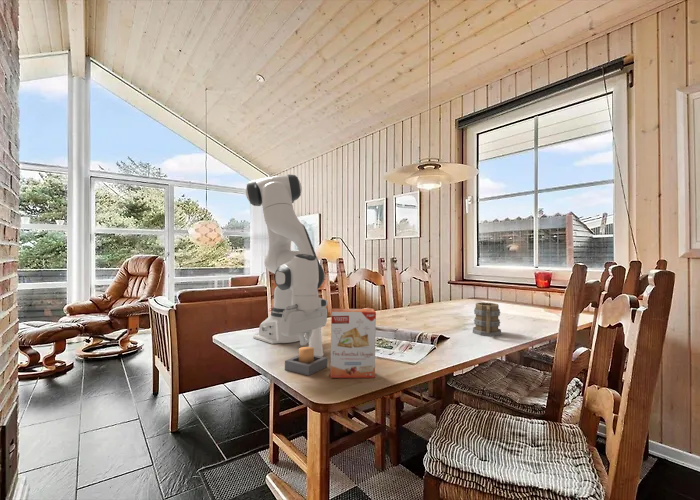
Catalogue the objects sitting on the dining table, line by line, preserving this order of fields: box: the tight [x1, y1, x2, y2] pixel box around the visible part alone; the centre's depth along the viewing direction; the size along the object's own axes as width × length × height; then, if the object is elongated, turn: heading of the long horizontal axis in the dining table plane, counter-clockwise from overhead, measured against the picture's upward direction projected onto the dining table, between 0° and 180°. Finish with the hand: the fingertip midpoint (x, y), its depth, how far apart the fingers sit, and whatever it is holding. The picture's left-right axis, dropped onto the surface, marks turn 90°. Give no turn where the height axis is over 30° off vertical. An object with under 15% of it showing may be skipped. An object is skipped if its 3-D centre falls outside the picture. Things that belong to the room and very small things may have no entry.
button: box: [298, 346, 314, 363], centre depth 119 cm, size 5×5×4 cm
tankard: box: [472, 301, 502, 337], centre depth 167 cm, size 20×13×15 cm, turn 158°
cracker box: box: [330, 308, 377, 379], centre depth 112 cm, size 14×6×21 cm, turn 93°
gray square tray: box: [284, 354, 328, 377], centre depth 119 cm, size 10×10×3 cm
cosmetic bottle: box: [308, 327, 324, 357], centre depth 133 cm, size 6×6×22 cm
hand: (304, 344), depth 118 cm, fingers closed
